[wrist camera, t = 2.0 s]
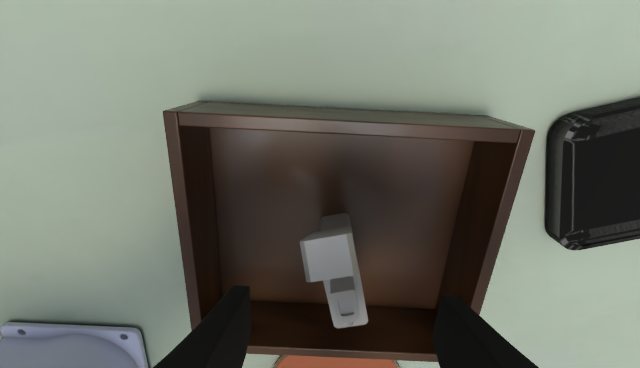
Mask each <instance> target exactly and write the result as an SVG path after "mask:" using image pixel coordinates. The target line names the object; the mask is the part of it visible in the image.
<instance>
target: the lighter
mask: <svg viewBox="0 0 640 368" xmlns="http://www.w3.org/2000/svg"><path fill="white" fill-rule="evenodd" d="M300 247H301V253H302V259H303V265H304V271H305V277H306V282H316V281H322V280H323V283H324V287H325V291H326V295H327V299H328V304H329V308H330V312H331V316H332V320H333V325H334V327H336V328H345V327H351V326H358V325H365V324H366V323H367V322H368V316H367V311H366V305H365V300H364V294H363V288H362V283H361V277H360V271H359V266H358V260H357V255H356V250H355V244H354V239H353V233H352V228H351V222H350V217H349V214H347V213H341V214H335V215H330V216H324V217H322V218H321V219H320V231H317V232H313V233H311V234H310V235H308V236H307V237H306V238H304V239H303V240H301V241H300Z"/></svg>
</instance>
